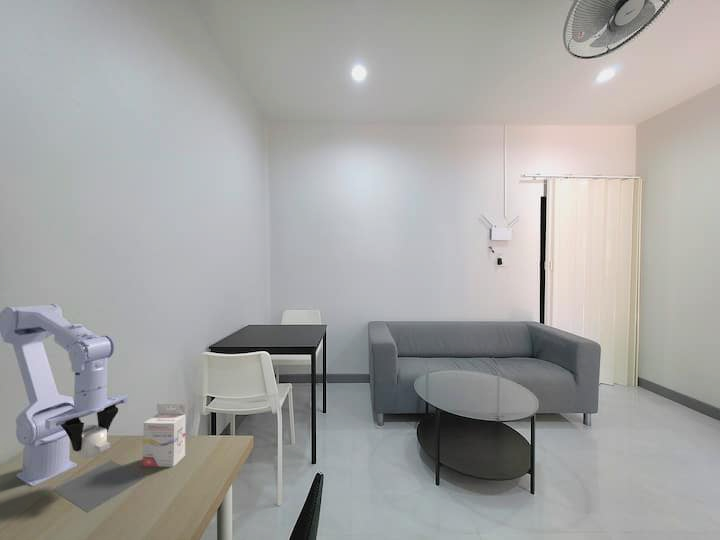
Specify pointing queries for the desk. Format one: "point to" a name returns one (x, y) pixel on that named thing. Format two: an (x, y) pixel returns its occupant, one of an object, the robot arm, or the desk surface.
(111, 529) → the desk surface
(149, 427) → the ink cartridge box
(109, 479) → the desk mat
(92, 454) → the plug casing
